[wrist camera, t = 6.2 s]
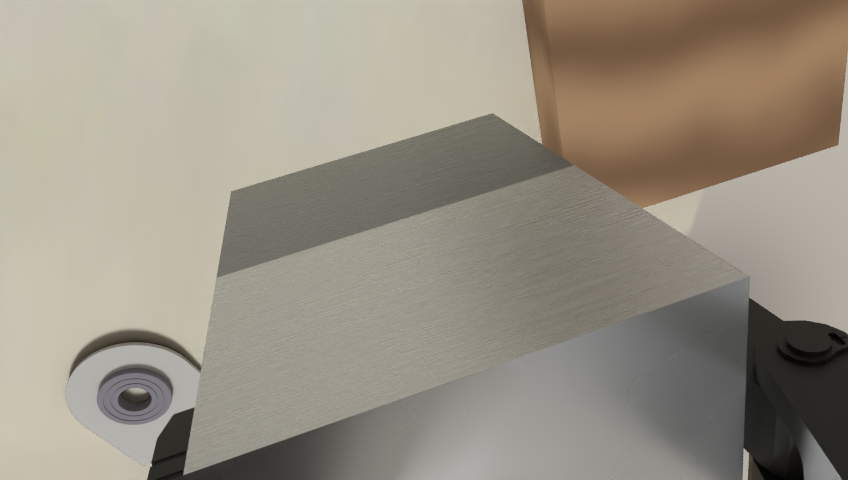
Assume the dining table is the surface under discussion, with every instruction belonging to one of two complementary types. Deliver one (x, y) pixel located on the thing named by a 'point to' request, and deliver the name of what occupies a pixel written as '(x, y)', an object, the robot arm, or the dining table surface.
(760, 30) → the cutting board
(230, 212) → the block
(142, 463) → the bracket
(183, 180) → the dining table surface
